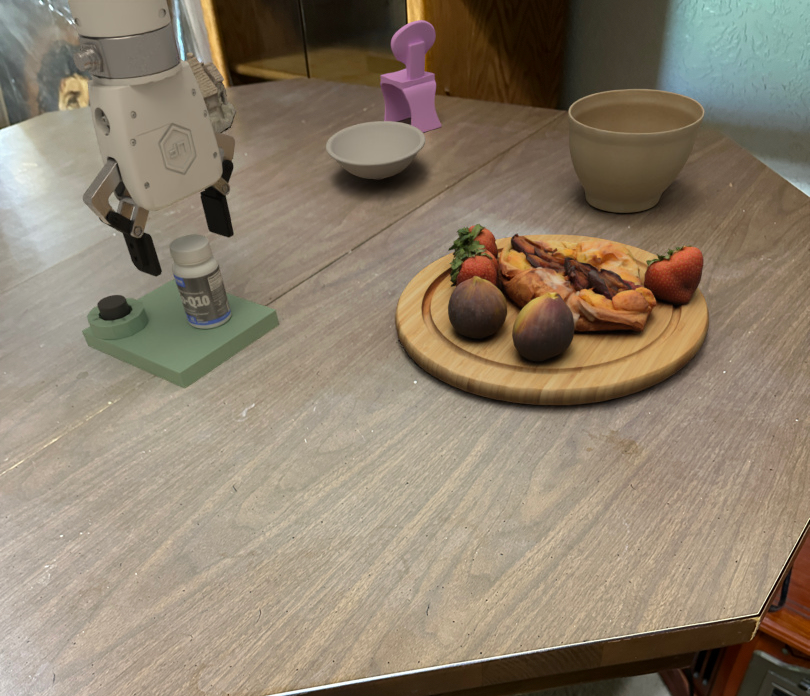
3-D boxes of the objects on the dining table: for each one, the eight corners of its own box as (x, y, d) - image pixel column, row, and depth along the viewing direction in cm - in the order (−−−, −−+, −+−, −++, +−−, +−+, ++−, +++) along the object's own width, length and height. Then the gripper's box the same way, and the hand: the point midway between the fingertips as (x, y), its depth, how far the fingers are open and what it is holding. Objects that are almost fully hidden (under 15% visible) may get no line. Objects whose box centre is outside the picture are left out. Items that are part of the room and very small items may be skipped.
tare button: (96, 317, 77) (91, 304, 76) (118, 305, 79) (113, 292, 78) (114, 325, 76) (108, 311, 75) (136, 312, 77) (131, 298, 76)
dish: (330, 160, 113) (326, 126, 110) (421, 152, 113) (419, 116, 110) (330, 206, 101) (325, 168, 98) (432, 196, 101) (430, 158, 98)
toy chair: (416, 113, 126) (411, 9, 115) (446, 125, 121) (444, 17, 110) (377, 125, 123) (368, 19, 112) (406, 137, 118) (399, 28, 107)
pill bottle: (180, 327, 77) (155, 251, 71) (202, 305, 80) (180, 230, 74) (219, 332, 76) (196, 255, 70) (240, 310, 79) (220, 234, 73)
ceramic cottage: (188, 142, 123) (164, 36, 113) (144, 127, 133) (118, 29, 123) (264, 123, 131) (247, 22, 121) (217, 111, 140) (198, 16, 130)
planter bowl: (551, 222, 93) (559, 129, 85) (570, 174, 103) (578, 87, 95) (682, 230, 89) (703, 133, 81) (688, 179, 99) (706, 89, 91)
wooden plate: (707, 262, 83) (726, 187, 77) (702, 431, 62) (727, 348, 56) (439, 244, 91) (436, 175, 85) (355, 390, 70) (345, 312, 64)
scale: (88, 346, 79) (75, 317, 77) (182, 291, 87) (174, 263, 84) (185, 389, 72) (174, 359, 70) (279, 325, 80) (273, 295, 77)
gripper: (73, 87, 54) (144, 299, 66) (237, 33, 63) (272, 228, 76) (15, 75, 57) (93, 279, 70) (179, 25, 66) (222, 213, 79)
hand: (187, 252), depth 73 cm, fingers open, 9 cm apart
